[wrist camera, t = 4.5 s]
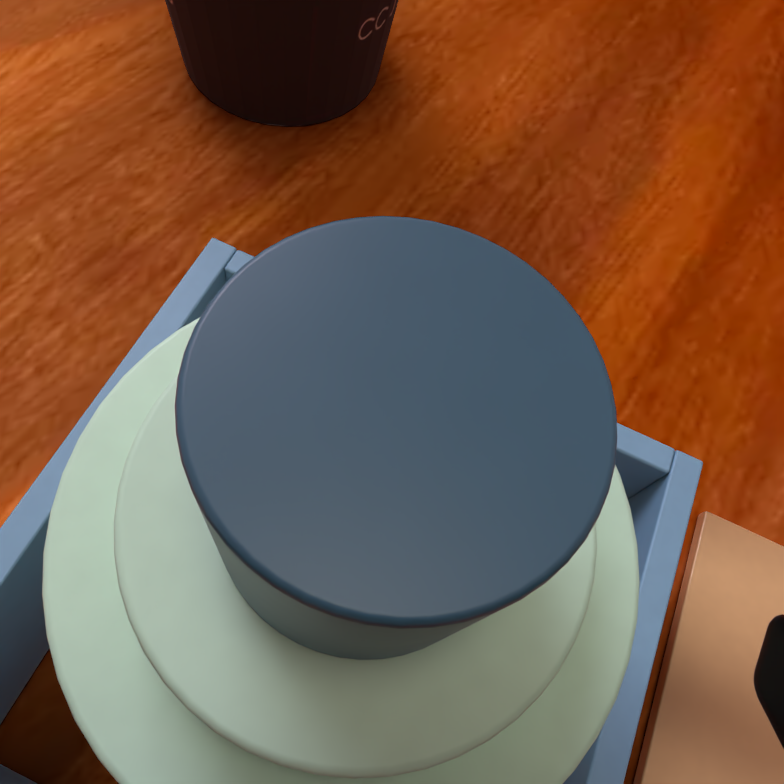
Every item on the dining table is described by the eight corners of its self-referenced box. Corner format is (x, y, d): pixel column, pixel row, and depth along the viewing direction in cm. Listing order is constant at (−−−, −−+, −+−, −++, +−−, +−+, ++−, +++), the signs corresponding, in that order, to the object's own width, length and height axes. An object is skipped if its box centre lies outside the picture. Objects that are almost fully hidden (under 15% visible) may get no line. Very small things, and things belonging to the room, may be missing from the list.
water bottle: (394, 846, 14) (819, 1385, 3) (115, 703, 14) (-510, 662, 3) (501, 557, 17) (929, 237, 6) (264, 444, 17) (214, -68, 6)
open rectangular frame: (460, 1049, 13) (526, 1180, 9) (-65, 771, 14) (-194, 791, 10) (620, 512, 18) (704, 461, 14) (227, 329, 18) (212, 236, 15)
